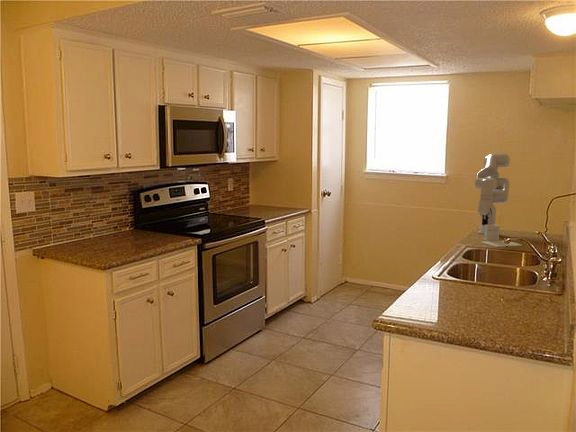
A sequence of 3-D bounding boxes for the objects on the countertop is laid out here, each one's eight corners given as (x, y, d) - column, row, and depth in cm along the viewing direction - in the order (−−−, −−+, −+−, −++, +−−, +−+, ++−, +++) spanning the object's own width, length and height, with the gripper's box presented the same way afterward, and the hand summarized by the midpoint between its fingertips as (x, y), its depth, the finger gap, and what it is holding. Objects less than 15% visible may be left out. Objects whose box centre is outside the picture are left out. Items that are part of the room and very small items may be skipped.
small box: (496, 240, 329) (497, 224, 327) (498, 241, 323) (499, 225, 322) (483, 240, 330) (484, 224, 328) (486, 241, 324) (487, 225, 322)
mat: (481, 242, 320) (481, 241, 320) (507, 241, 324) (507, 240, 324) (495, 247, 306) (495, 246, 306) (522, 245, 310) (522, 245, 310)
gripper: (474, 196, 336) (473, 223, 339) (488, 198, 322) (486, 226, 324) (484, 196, 338) (483, 223, 341) (498, 198, 324) (496, 226, 326)
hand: (484, 224), depth 333 cm, fingers closed
